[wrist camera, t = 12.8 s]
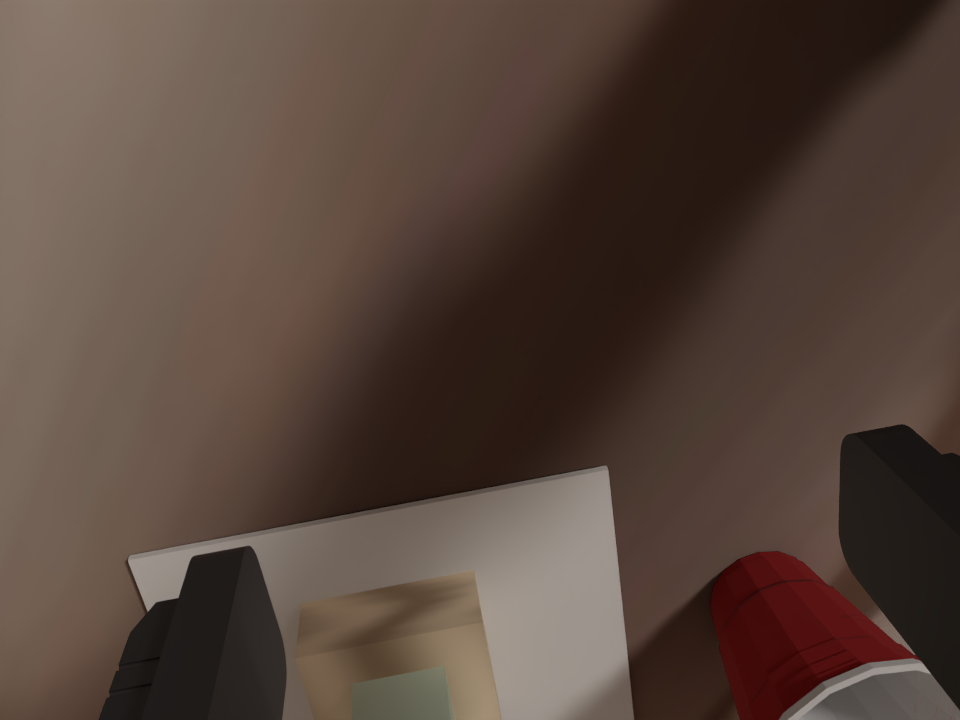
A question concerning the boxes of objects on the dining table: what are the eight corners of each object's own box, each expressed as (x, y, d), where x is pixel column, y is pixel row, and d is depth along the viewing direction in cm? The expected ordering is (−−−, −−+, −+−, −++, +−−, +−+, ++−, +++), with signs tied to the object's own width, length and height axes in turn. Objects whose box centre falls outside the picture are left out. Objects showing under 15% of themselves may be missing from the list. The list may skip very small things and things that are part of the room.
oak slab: (473, 570, 46) (482, 621, 42) (498, 698, 50) (508, 756, 46) (301, 603, 46) (295, 658, 42) (338, 730, 50) (335, 791, 46)
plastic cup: (855, 647, 52) (984, 830, 41) (673, 683, 51) (755, 877, 41) (861, 491, 47) (1007, 649, 36) (661, 529, 47) (750, 701, 36)
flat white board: (606, 465, 45) (608, 469, 45) (633, 725, 52) (635, 730, 52) (129, 555, 44) (127, 560, 44) (226, 807, 51) (225, 813, 51)
